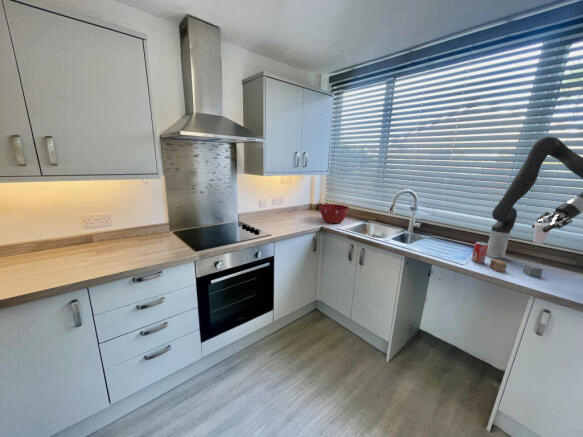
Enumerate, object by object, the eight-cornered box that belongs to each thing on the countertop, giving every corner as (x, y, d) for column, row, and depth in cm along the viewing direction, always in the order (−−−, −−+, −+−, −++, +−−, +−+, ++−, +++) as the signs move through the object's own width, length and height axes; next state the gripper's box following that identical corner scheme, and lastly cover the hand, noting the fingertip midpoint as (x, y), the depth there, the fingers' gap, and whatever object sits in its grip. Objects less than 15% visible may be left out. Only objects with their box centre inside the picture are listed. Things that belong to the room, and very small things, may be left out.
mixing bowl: (341, 227, 216) (342, 210, 212) (313, 222, 231) (314, 206, 227) (351, 221, 239) (353, 206, 236) (325, 217, 254) (326, 203, 251)
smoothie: (537, 240, 128) (544, 214, 124) (551, 244, 121) (558, 217, 118) (526, 240, 127) (532, 214, 124) (538, 244, 121) (546, 217, 118)
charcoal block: (522, 272, 135) (525, 264, 134) (533, 273, 134) (535, 265, 133) (529, 276, 130) (531, 267, 129) (540, 277, 129) (542, 268, 128)
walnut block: (489, 267, 141) (491, 259, 139) (499, 268, 140) (501, 260, 138) (494, 270, 136) (496, 262, 135) (504, 271, 135) (506, 263, 134)
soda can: (477, 263, 145) (481, 244, 142) (468, 259, 151) (472, 241, 148) (486, 263, 145) (491, 244, 143) (478, 259, 151) (482, 241, 149)
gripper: (555, 200, 125) (523, 220, 130) (581, 204, 111) (544, 227, 116) (564, 210, 125) (532, 230, 130) (592, 216, 111) (554, 238, 116)
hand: (538, 229), depth 123 cm, fingers closed on smoothie, 6 cm apart
